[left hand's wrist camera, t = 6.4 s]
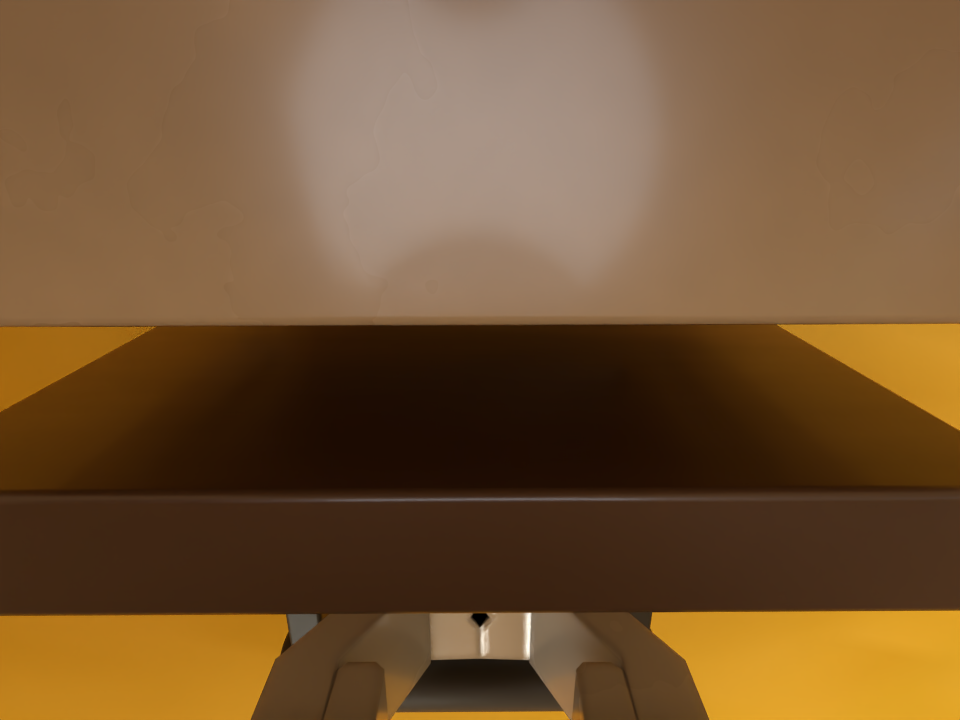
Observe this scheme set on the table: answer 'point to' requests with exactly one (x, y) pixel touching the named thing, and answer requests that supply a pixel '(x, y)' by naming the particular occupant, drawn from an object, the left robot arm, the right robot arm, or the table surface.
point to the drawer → (474, 482)
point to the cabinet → (479, 162)
